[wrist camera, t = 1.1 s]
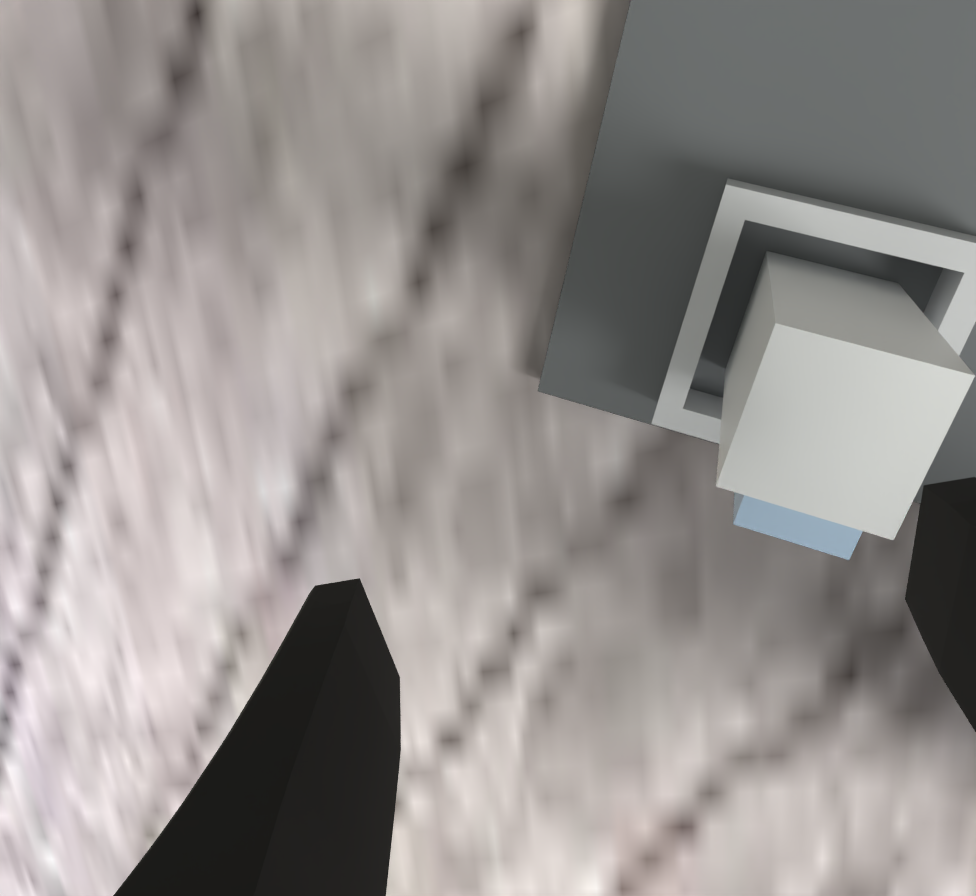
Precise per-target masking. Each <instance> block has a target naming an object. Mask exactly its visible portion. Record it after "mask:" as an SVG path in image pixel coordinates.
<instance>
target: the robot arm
mask: <svg viewBox="0 0 976 896" xmlns="http://www.w3.org/2000/svg"><path fill="white" fill-rule="evenodd" d="M905 600H906V602H907V604H908V607H909V609H910V611H911V613H912V616H913V618H914V620H915V622H916V625H917V627H918V629H919V631H920V634H921V636H922V638H923V640H924V642H925V644H926V646H927V649H928V651H929V653H930V655H931V657H932V659H933V661H934V663H935V665H936V667H937V669H938V671H939V673H940V675H941V677H942V678H943V680H944V682H945V683H946V685H947V687H948V688H949V690H950V691H951V693H952V695H953V696H954V698H955V700H956V701H957V703H958V704H959V706H960V708H961V709H962V711H963V712H964V714H965V716H966V717H967V719H968V721H969V722H970V724H971V725H972V727H973V729H974V730H975V732H976V477H970V478H964V479H958V480H952V481H946V482H940V483H934V484H928V485H924V486H923V492H922V498H921V504H920V510H919V517H918V523H917V529H916V535H915V541H914V547H913V554H912V560H911V566H910V572H909V578H908V584H907V591H906V597H905ZM400 751H401V726H400V676H399V674H398V672H397V669H396V667H395V664H394V662H393V659H392V657H391V654H390V652H389V649H388V647H387V644H386V642H385V640H384V637H383V635H382V632H381V630H380V627H379V625H378V622H377V620H376V617H375V615H374V613H373V610H372V608H371V605H370V603H369V600H368V598H367V595H366V593H365V590H364V588H363V585H362V583H361V581H360V578H359V579H353V580H347V581H341V582H335V583H329V584H323V585H317V586H315V587H314V588H313V589H312V591H311V592H310V594H309V595H308V597H307V599H306V601H305V602H304V604H303V606H302V608H301V610H300V611H299V613H298V615H297V617H296V619H295V620H294V622H293V624H292V626H291V628H290V630H289V631H288V633H287V635H286V637H285V639H284V640H283V642H282V644H281V646H280V647H279V649H278V651H277V653H276V654H275V656H274V658H273V660H272V661H271V663H270V665H269V667H268V668H267V670H266V672H265V674H264V675H263V677H262V679H261V681H260V682H259V684H258V686H257V687H256V689H255V691H254V692H253V694H252V696H251V697H250V699H249V701H248V702H247V704H246V705H245V707H244V709H243V710H242V712H241V714H240V715H239V717H238V719H237V720H236V722H235V724H234V725H233V727H232V729H231V730H230V732H229V733H228V735H227V737H226V738H225V740H224V741H223V743H222V745H221V746H220V748H219V749H218V751H217V752H216V754H215V755H214V757H213V758H212V760H211V761H210V763H209V764H208V766H207V767H206V769H205V770H204V772H203V773H202V775H201V776H200V778H199V779H198V781H197V782H196V784H195V785H194V787H193V788H192V790H191V791H190V793H189V794H188V796H187V797H186V799H185V800H184V802H183V803H182V805H181V806H180V807H179V809H178V810H177V812H176V813H175V814H174V816H173V817H172V819H171V820H170V821H169V823H168V824H167V826H166V827H165V828H164V830H163V831H162V833H161V834H160V835H159V837H158V838H157V839H156V841H155V842H154V843H153V845H152V846H151V848H150V849H149V850H148V852H147V853H146V854H145V855H144V857H143V858H142V859H141V861H140V862H139V863H138V865H137V866H136V867H135V868H134V870H133V871H132V872H131V874H130V875H129V876H128V878H127V879H126V880H125V881H124V883H123V884H122V885H121V887H120V888H119V889H118V890H117V892H116V893H115V894H114V895H113V896H386V887H387V878H388V869H389V859H390V850H391V840H392V831H393V822H394V812H395V802H396V793H397V783H398V773H399V762H400Z"/></svg>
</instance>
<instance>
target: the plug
mask: <svg viewBox="0 0 976 896" xmlns="http://www.w3.org/2000/svg"><path fill="white" fill-rule="evenodd" d="M974 377H975V375H974V374H973V372H972V371H971V370H970V369H969V368H968V366H967V365H966V364H965V363H964V362H963V360H962V359H961V358H960V357H959V356H958V354H957V353H956V352H955V351H954V350H953V348H952V347H951V346H950V345H949V344H948V342H947V341H946V340H945V339H944V338H943V336H942V335H941V334H940V333H939V332H938V330H937V329H936V328H935V327H934V325H933V324H932V323H931V322H930V321H929V319H928V318H927V317H926V316H925V315H924V313H923V312H922V311H921V310H920V309H919V307H918V306H917V305H916V304H915V303H914V301H913V300H912V299H911V298H910V297H909V295H908V294H907V293H906V292H905V291H904V289H903V288H902V287H901V286H900V285H899V283H895V282H891V281H887V280H883V279H879V278H875V277H870V276H866V275H862V274H858V273H854V272H850V271H846V270H842V269H838V268H834V267H830V266H826V265H822V264H818V263H814V262H810V261H806V260H802V259H798V258H794V257H790V256H786V255H782V254H778V253H773V252H769V251H766V254H765V257H764V259H763V262H762V265H761V268H760V271H759V274H758V277H757V280H756V283H755V285H754V288H753V291H752V294H751V297H750V300H749V303H748V306H747V309H746V311H745V314H744V317H743V320H742V323H741V326H740V329H739V332H738V335H737V337H736V340H735V343H734V346H733V349H732V352H731V355H730V358H729V360H728V363H727V366H726V370H725V382H724V394H723V406H722V418H721V430H720V441H719V453H718V465H717V477H716V487H719V488H722V489H726V490H729V491H732V492H734V514H733V524H734V525H737V526H740V527H744V528H747V529H750V530H753V531H757V532H760V533H763V534H766V535H769V536H773V537H776V538H779V539H782V540H786V541H789V542H792V543H795V544H798V545H802V546H805V547H808V548H811V549H815V550H818V551H821V552H824V553H827V554H831V555H834V556H837V557H840V558H844V559H847V560H849V559H850V557H851V555H852V553H853V551H854V549H855V547H856V544H857V542H858V540H859V538H860V536H861V534H862V532H863V531H864V532H867V533H871V534H874V535H877V536H881V537H884V538H887V539H891V540H894V538H895V536H896V534H897V532H898V530H899V528H900V526H901V524H902V522H903V520H904V518H905V516H906V514H907V512H908V510H909V508H910V506H911V504H912V502H913V500H914V498H915V496H916V494H917V492H918V490H919V488H920V486H921V484H922V482H923V480H924V478H925V476H926V474H927V472H928V470H929V468H930V466H931V464H932V462H933V460H934V458H935V456H936V454H937V452H938V450H939V448H940V446H941V444H942V442H943V440H944V438H945V436H946V434H947V432H948V430H949V427H950V425H951V423H952V421H953V419H954V417H955V415H956V413H957V411H958V409H959V407H960V405H961V403H962V401H963V399H964V397H965V395H966V393H967V391H968V389H969V387H970V385H971V383H972V381H973V379H974Z"/></svg>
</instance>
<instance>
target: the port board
mask: <svg viewBox="0 0 976 896" xmlns="http://www.w3.org/2000/svg"><path fill="white" fill-rule="evenodd" d="M766 251H769V252H773V253H778V254H782V255H786V256H790V257H794V258H798V259H802V260H806V261H810V262H814V263H818V264H822V265H826V266H830V267H834V268H838V269H842V270H846V271H850V272H854V273H858V274H862V275H866V276H870V277H875V278H879V279H883V280H887V281H891V282H895V283H899V285H900V286H901V287H902V288H903V289H904V291H905V292H906V293H907V294H908V295H909V297H910V298H911V299H912V300H913V301H914V303H915V304H916V305H917V306H918V307H919V309H920V310H921V311H922V312H923V313H924V315H925V316H926V317H927V318H928V319H929V321H930V322H931V323H932V324H933V325H934V327H935V328H936V329H937V330H938V332H939V333H940V334H941V335H942V336H943V338H944V339H945V340H946V341H947V342H948V344H949V345H950V346H951V347H952V348H953V350H954V351H955V352H956V353H957V354H958V356H959V357H960V358H961V359H962V360H963V362H964V363H965V364H966V365H967V366H968V368H969V369H970V370H971V371H972V372H973V374H974V375H975V377H974V379H973V381H972V383H971V385H970V387H969V389H968V391H967V393H966V395H965V397H964V399H963V401H962V403H961V405H960V407H959V409H958V411H957V413H956V415H955V417H954V419H953V421H952V423H951V425H950V427H949V430H948V432H947V434H946V436H945V438H944V440H943V442H942V444H941V446H940V448H939V450H938V452H937V454H936V456H935V458H934V460H933V462H932V464H931V466H930V468H929V470H928V472H927V474H926V476H925V478H924V480H923V482H922V484H921V486H920V488H919V490H918V492H917V494H916V496H915V498H914V500H913V502H917V503H920V504H921V498H922V492H923V486H924V485H928V484H934V483H940V482H946V481H952V480H958V479H964V478H970V477H976V0H631V1H630V5H629V9H628V14H627V18H626V22H625V26H624V30H623V35H622V39H621V43H620V47H619V51H618V56H617V60H616V64H615V68H614V73H613V77H612V81H611V85H610V89H609V94H608V98H607V102H606V106H605V110H604V115H603V119H602V123H601V127H600V131H599V136H598V140H597V144H596V148H595V152H594V157H593V161H592V165H591V169H590V173H589V178H588V182H587V186H586V190H585V194H584V199H583V203H582V207H581V211H580V215H579V220H578V224H577V228H576V232H575V237H574V241H573V245H572V249H571V253H570V258H569V262H568V266H567V270H566V274H565V279H564V283H563V287H562V291H561V295H560V300H559V304H558V308H557V312H556V316H555V321H554V325H553V329H552V333H551V337H550V342H549V346H548V350H547V354H546V358H545V363H544V367H543V371H542V375H541V379H540V384H539V388H538V391H539V392H542V393H545V394H549V395H552V396H556V397H559V398H562V399H566V400H569V401H573V402H576V403H579V404H583V405H586V406H590V407H593V408H597V409H600V410H603V411H607V412H610V413H614V414H617V415H620V416H624V417H627V418H631V419H634V420H637V421H641V422H644V423H648V424H651V425H654V426H658V427H661V428H665V429H668V430H671V431H675V432H678V433H682V434H685V435H688V436H692V437H695V438H699V439H702V440H706V441H709V442H712V443H716V444H719V441H720V430H721V418H722V406H723V394H724V382H725V370H726V366H727V363H728V360H729V358H730V355H731V352H732V349H733V346H734V343H735V340H736V337H737V335H738V332H739V329H740V326H741V323H742V320H743V317H744V314H745V311H746V309H747V306H748V303H749V300H750V297H751V294H752V291H753V288H754V285H755V283H756V280H757V277H758V274H759V271H760V268H761V265H762V262H763V259H764V257H765V254H766Z"/></svg>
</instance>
